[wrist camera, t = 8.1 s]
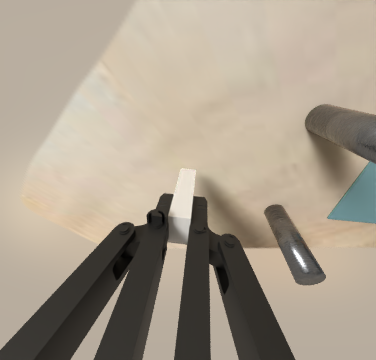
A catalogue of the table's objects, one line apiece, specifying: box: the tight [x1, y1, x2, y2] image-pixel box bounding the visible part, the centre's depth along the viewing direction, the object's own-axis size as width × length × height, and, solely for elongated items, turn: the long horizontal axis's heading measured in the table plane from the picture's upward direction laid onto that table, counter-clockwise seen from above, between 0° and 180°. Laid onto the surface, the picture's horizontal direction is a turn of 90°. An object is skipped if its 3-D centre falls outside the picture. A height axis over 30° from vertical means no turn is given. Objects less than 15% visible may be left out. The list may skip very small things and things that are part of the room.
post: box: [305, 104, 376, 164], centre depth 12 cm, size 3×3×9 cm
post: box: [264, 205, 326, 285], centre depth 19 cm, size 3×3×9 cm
